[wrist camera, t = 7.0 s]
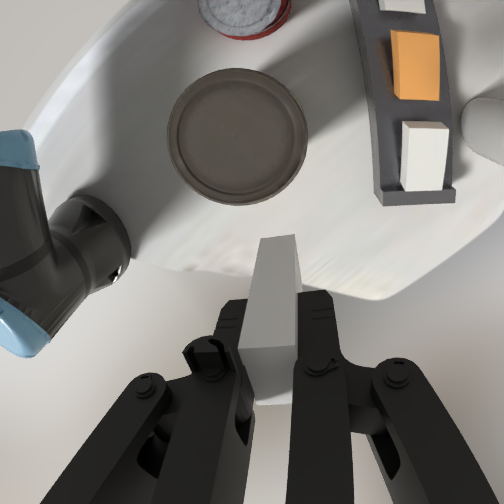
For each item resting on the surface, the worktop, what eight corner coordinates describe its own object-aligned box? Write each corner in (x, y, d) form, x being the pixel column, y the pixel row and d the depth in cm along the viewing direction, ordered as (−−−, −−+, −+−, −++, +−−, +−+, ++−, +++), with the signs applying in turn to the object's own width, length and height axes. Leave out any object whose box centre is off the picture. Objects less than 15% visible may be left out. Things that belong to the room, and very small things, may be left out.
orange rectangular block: (430, 94, 25) (438, 100, 23) (393, 92, 26) (400, 99, 24) (430, 32, 20) (438, 35, 18) (389, 29, 21) (397, 31, 19)
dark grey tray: (439, 190, 32) (455, 203, 28) (373, 193, 34) (382, 206, 30) (408, -36, 19) (420, -50, 15) (337, -41, 21) (341, -58, 17)
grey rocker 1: (435, 180, 29) (441, 190, 27) (399, 181, 30) (405, 191, 28) (440, 121, 24) (449, 129, 23) (402, 120, 25) (409, 128, 24)
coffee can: (203, 144, 35) (149, 173, 23) (237, 67, 30) (196, 48, 18) (281, 181, 36) (268, 229, 23) (320, 104, 31) (333, 106, 18)
